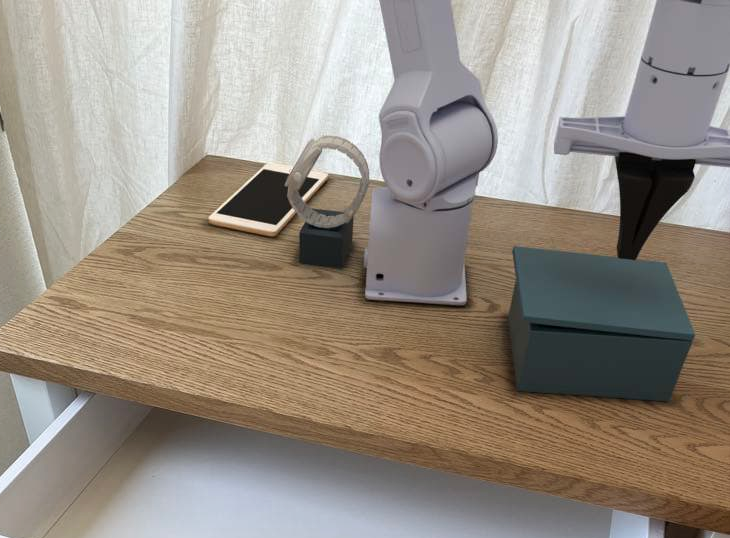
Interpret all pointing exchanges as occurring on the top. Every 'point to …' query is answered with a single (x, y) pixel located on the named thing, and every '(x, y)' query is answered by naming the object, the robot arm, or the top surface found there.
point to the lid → (599, 293)
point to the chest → (593, 360)
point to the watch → (324, 227)
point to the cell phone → (264, 201)
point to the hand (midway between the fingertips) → (626, 253)
